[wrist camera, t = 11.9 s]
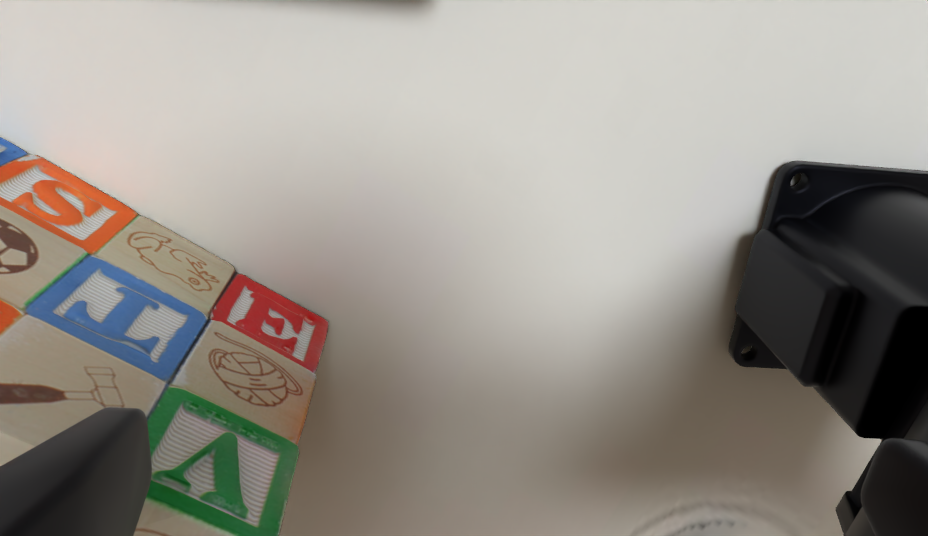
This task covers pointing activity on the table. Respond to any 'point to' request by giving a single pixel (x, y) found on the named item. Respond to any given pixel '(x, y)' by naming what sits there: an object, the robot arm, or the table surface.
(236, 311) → the stack of blocks
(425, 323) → the table surface
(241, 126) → the table surface
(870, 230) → the robot arm
